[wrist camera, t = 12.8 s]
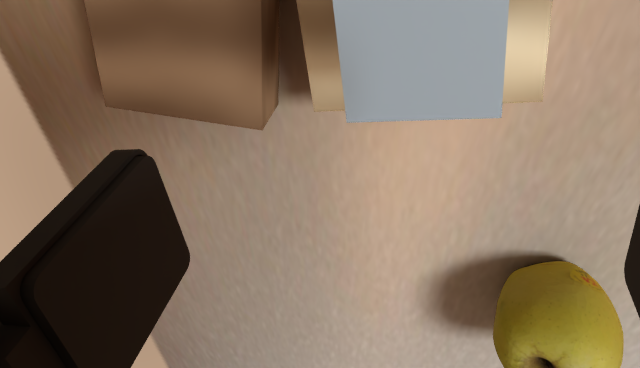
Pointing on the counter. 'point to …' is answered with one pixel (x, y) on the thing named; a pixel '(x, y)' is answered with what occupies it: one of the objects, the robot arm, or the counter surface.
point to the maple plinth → (520, 61)
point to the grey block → (421, 58)
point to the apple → (556, 320)
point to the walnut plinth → (189, 57)
